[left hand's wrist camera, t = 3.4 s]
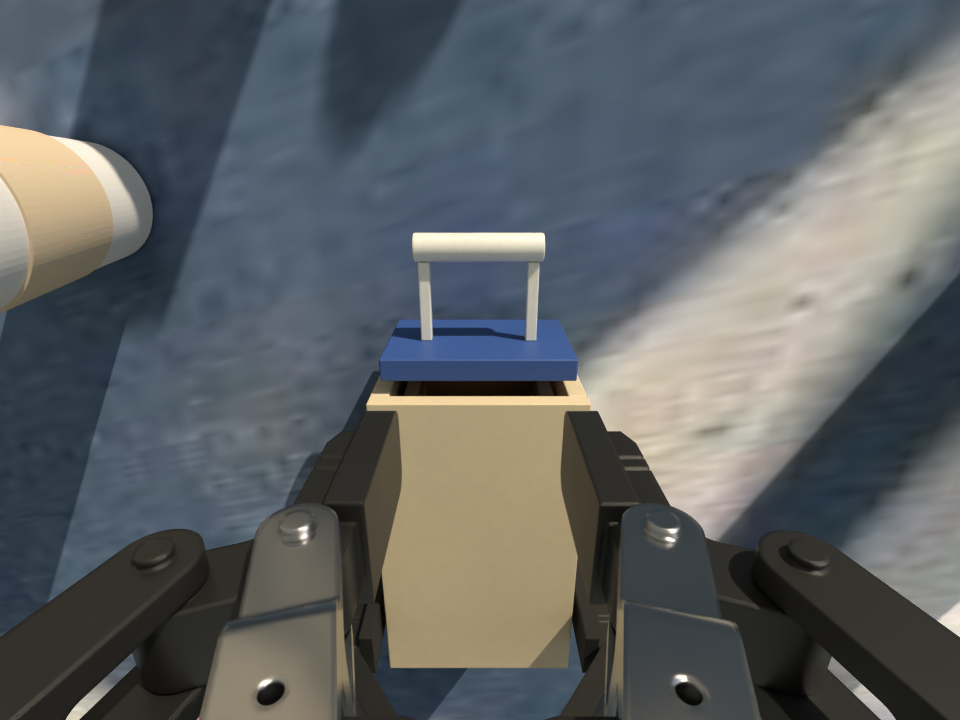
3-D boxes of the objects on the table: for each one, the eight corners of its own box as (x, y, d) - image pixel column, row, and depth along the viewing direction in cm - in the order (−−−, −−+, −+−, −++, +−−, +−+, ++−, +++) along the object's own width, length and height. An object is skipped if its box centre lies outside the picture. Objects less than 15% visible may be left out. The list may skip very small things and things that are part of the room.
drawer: (393, 224, 30) (369, 242, 23) (564, 224, 30) (587, 241, 23) (412, 539, 38) (398, 616, 32) (545, 539, 38) (559, 616, 32)
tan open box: (393, 343, 34) (365, 404, 25) (563, 343, 34) (591, 404, 25) (408, 563, 41) (389, 668, 32) (549, 563, 41) (567, 668, 32)
